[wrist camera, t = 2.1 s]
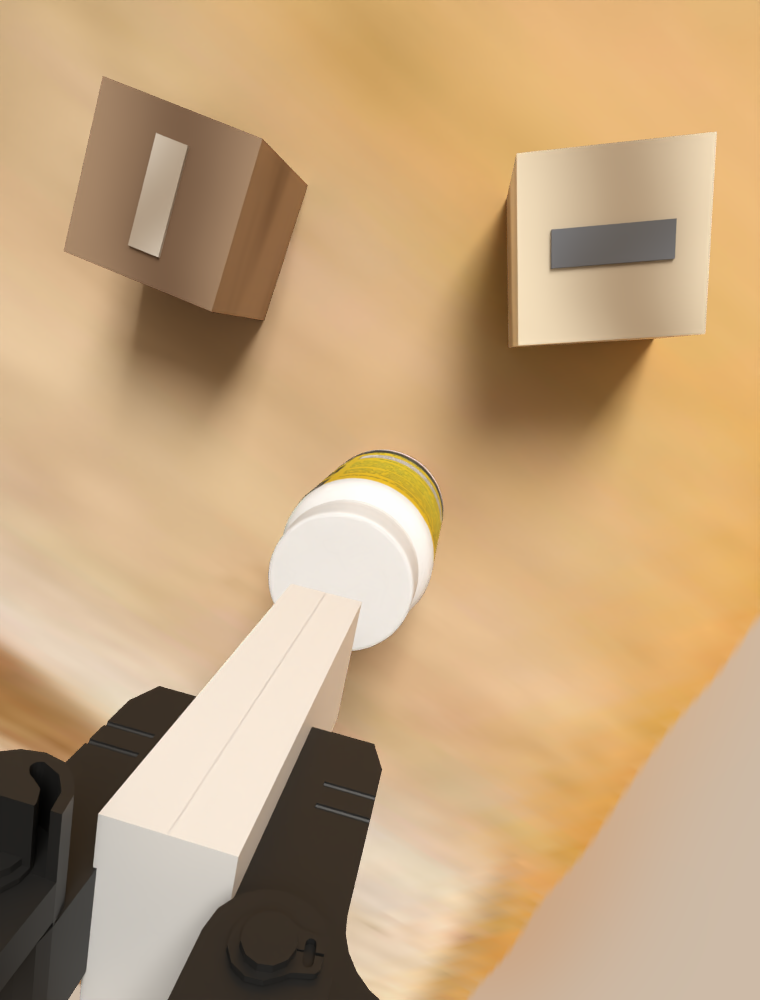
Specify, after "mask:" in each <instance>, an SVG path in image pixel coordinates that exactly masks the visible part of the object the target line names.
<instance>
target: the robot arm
mask: <svg viewBox="0 0 760 1000" xmlns="http://www.w3.org/2000/svg"><path fill="white" fill-rule="evenodd" d="M361 604H362V602H360V601H357V600H353V599H349V598H345V597H341V596H337V595H333V594H329V593H325V592H321V591H318V590H314V589H310V588H306V587H302V586H298V585H294V584H290V586H289V587H288V588H287V589H286V590H285V592H284V593H283V594H282V595H281V596H280V598H279V599H278V600H277V601H276V602H275V604H274V605H273V606H272V607H271V608H270V609H269V611H268V612H267V613H266V614H265V615H264V617H263V618H262V619H261V620H260V621H259V623H258V624H257V625H256V626H255V627H254V629H253V630H252V631H251V632H250V633H249V635H248V636H247V637H246V638H245V639H244V640H243V642H242V643H241V644H240V645H239V646H238V648H237V649H236V650H235V651H234V652H233V654H232V655H231V656H230V657H229V658H228V660H227V661H226V662H225V663H224V664H223V666H222V667H221V668H220V669H219V670H218V672H217V673H216V674H215V675H214V676H213V677H212V679H211V680H210V681H209V682H208V683H207V685H206V686H205V687H204V688H203V689H202V691H201V692H200V693H199V694H198V695H197V697H196V696H193V695H189V694H185V693H182V692H178V691H175V690H171V689H168V688H164V687H161V686H159V687H157V688H154V689H152V690H150V691H148V692H146V693H144V694H142V695H139V696H137V697H135V698H133V699H131V700H129V701H128V702H127V703H126V704H125V705H124V706H123V707H122V708H121V709H120V710H119V711H118V712H117V713H116V714H115V715H114V716H113V717H112V718H111V719H110V720H109V721H108V723H107V725H106V726H105V725H103V726H102V727H101V728H100V729H99V730H98V731H97V732H96V733H95V734H94V735H93V736H92V737H91V738H90V741H89V743H88V744H86V743H85V744H84V745H83V746H82V747H81V748H80V749H79V750H78V751H77V752H76V753H75V754H74V755H73V756H72V757H71V758H70V759H69V760H68V761H67V762H66V763H65V762H63V761H61V760H59V759H57V758H55V757H53V756H51V755H49V754H47V753H44V752H37V751H30V750H23V749H18V750H9V751H0V1000H68V999H69V997H70V996H71V994H72V993H73V991H74V990H75V988H76V987H77V985H78V983H79V982H80V980H81V979H82V980H81V990H80V1000H379V999H378V998H377V997H376V996H375V995H374V994H373V993H372V992H371V991H370V990H369V989H368V988H367V986H366V985H365V983H364V982H363V980H362V979H361V977H360V976H359V975H358V973H357V972H356V969H355V967H354V964H353V962H352V959H351V957H350V955H349V952H348V945H347V939H346V924H347V915H348V911H349V906H350V902H351V898H352V894H353V890H354V885H355V881H356V877H357V873H358V869H359V864H360V860H361V856H362V852H363V847H364V843H365V839H366V835H367V831H368V826H369V822H370V818H371V814H372V810H373V805H374V801H375V797H376V793H377V789H378V784H379V780H380V776H381V772H382V768H381V765H380V762H379V758H378V755H377V752H376V749H375V746H374V744H372V743H368V742H365V741H361V740H358V739H354V738H351V737H347V736H344V735H340V734H336V733H333V732H332V731H333V728H334V726H335V723H336V720H337V718H338V713H339V708H340V704H341V699H342V694H343V689H344V685H345V680H346V675H347V670H348V666H349V661H350V656H351V651H352V647H353V642H354V637H355V632H356V628H357V623H358V618H359V613H360V609H361Z"/></svg>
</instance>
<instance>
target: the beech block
mask: <svg viewBox="0 0 760 1000" xmlns="http://www.w3.org/2000/svg"><path fill="white" fill-rule="evenodd" d="M716 135H717V132H709V133H700V134H691V135H682V136H672V137H663V138H654V139H645V140H636V141H626V142H617V143H608V144H599V145H590V146H580V147H571V148H562V149H553V150H544V151H535V152H525V153H517V154H516V159H515V163H514V168H513V172H512V177H511V181H510V186H509V190H508V195H507V273H508V348H510V347H527V346H543V345H559V344H575V343H592V342H608V341H624V340H641V339H656V338H666V337H677V336H688V335H699V334H705V329H706V312H707V294H708V276H709V259H710V241H711V224H712V206H713V188H714V171H715V153H716Z"/></svg>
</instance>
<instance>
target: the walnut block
mask: <svg viewBox="0 0 760 1000" xmlns="http://www.w3.org/2000/svg"><path fill="white" fill-rule="evenodd" d="M306 189H307V184H306V183H305V182H304V181H303V180H302V179H301V178H300V177H299V176H298V175H297V174H296V173H295V172H294V171H293V170H292V169H291V168H290V167H289V166H288V165H287V164H286V163H285V161H284V160H283V159H282V158H281V157H280V156H279V155H278V154H277V153H276V152H275V151H274V150H273V149H272V148H271V147H270V146H269V145H268V144H267V143H266V142H265V141H264V140H263V139H262V138H259V137H257V136H254V135H252V134H249V133H247V132H244V131H241V130H239V129H236V128H234V127H231V126H229V125H226V124H224V123H221V122H219V121H216V120H213V119H211V118H208V117H206V116H203V115H201V114H198V113H196V112H193V111H191V110H188V109H185V108H183V107H180V106H178V105H175V104H173V103H170V102H168V101H165V100H163V99H160V98H158V97H155V96H152V95H150V94H147V93H145V92H142V91H140V90H137V89H135V88H132V87H130V86H127V85H124V84H122V83H119V82H117V81H114V80H112V79H109V78H107V77H104V76H103V78H102V82H101V87H100V91H99V96H98V100H97V105H96V109H95V114H94V118H93V123H92V127H91V131H90V136H89V140H88V145H87V149H86V154H85V158H84V163H83V167H82V172H81V176H80V181H79V185H78V190H77V194H76V199H75V203H74V207H73V212H72V216H71V221H70V225H69V230H68V234H67V239H66V243H65V248H64V252H67V253H69V254H72V255H74V256H77V257H79V258H81V259H84V260H86V261H89V262H91V263H94V264H96V265H99V266H101V267H103V268H106V269H108V270H111V271H113V272H116V273H118V274H121V275H123V276H125V277H128V278H130V279H133V280H135V281H138V282H140V283H143V284H145V285H147V286H150V287H152V288H155V289H157V290H160V291H162V292H165V293H167V294H169V295H172V296H174V297H177V298H179V299H182V300H184V301H187V302H189V303H191V304H194V305H196V306H199V307H201V308H204V309H206V310H209V311H211V312H216V313H222V314H228V315H234V316H240V317H246V318H252V319H258V320H265V316H266V313H267V310H268V307H269V304H270V301H271V298H272V295H273V292H274V288H275V285H276V282H277V279H278V276H279V273H280V270H281V267H282V263H283V260H284V257H285V254H286V251H287V248H288V245H289V242H290V238H291V235H292V232H293V229H294V226H295V223H296V220H297V217H298V213H299V210H300V207H301V204H302V201H303V198H304V195H305V192H306Z"/></svg>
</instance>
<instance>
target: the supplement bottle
mask: <svg viewBox="0 0 760 1000" xmlns="http://www.w3.org/2000/svg"><path fill="white" fill-rule="evenodd" d="M442 521H443V500H442V495H441V492H440V489H439V486H438V484H437V482H436V480H435V479H434V477H433V476H432V474H431V473H430V472H429V471H428V469H427V468H426V467H425V466H424V465H422V464H421V463H420V462H418V461H417V460H415V459H414V458H412V457H410V456H408V455H406V454H403V453H401V452H397V451H392V450H372V451H367V452H364V453H361V454H359V455H356V456H354V457H353V458H351V459H349V460H348V461H346V462H345V463H344V464H343V465H341V466H340V467H339V468H338V469H337V470H336V471H334V472H333V473H332V474H331V475H329V476H328V477H327V478H326V479H325V480H323V481H322V482H321V483H320V484H319V485H318V486H317V487H315V488H314V489H313V490H312V491H311V492H309V493H308V494H307V495H306V496H305V497H304V498H303V499H302V500H301V501H300V502H299V504H298V505H297V506H296V507H295V509H294V510H293V512H292V514H291V515H290V517H289V519H288V522H287V524H286V526H285V530H284V533H283V536H282V537H281V539H280V540H279V542H278V543H277V545H276V547H275V549H274V552H273V554H272V557H271V560H270V565H269V573H268V576H269V589H270V593H271V597H272V600H273V603H274V604H275V602H276V601H277V600H278V599H279V598H280V596H281V595H282V594H283V593H284V592H285V590H286V589H287V588H288V587H289V586H290V584H294V585H298V586H302V587H306V588H310V589H314V590H318V591H321V592H325V593H329V594H333V595H337V596H341V597H345V598H349V599H353V600H357V601H360V602H362V604H361V609H360V613H359V618H358V623H357V628H356V632H355V637H354V642H353V647H352V651H356V650H361V649H366V648H369V647H372V646H374V645H376V644H378V643H380V642H382V641H384V640H385V639H387V638H388V637H389V636H391V635H392V634H393V633H394V632H395V631H396V630H397V629H398V628H399V626H400V625H401V624H402V623H403V621H404V620H405V618H406V616H407V614H408V612H409V610H411V609H412V608H413V607H414V606H415V605H416V603H417V602H418V601H419V600H420V598H421V597H422V595H423V594H424V592H425V590H426V588H427V586H428V583H429V580H430V577H431V574H432V570H433V564H434V559H435V554H436V549H437V544H438V539H439V534H440V530H441V525H442Z"/></svg>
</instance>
